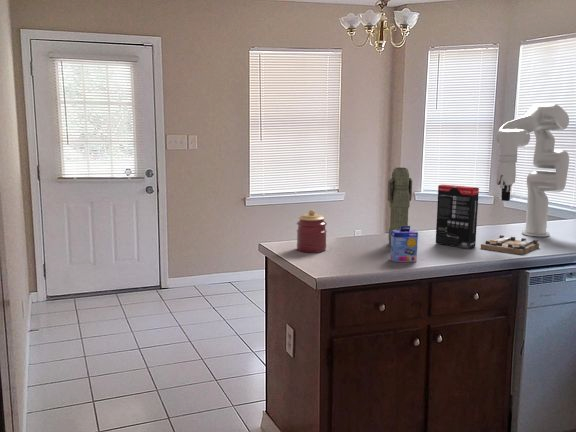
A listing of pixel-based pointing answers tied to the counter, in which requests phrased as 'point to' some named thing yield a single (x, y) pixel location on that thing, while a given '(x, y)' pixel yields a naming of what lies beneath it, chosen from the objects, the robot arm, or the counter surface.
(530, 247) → the latch board
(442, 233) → the graphics card box
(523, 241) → the strap
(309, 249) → the canister
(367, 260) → the counter surface
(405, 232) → the ink cartridge box
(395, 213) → the green statue
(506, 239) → the strap
